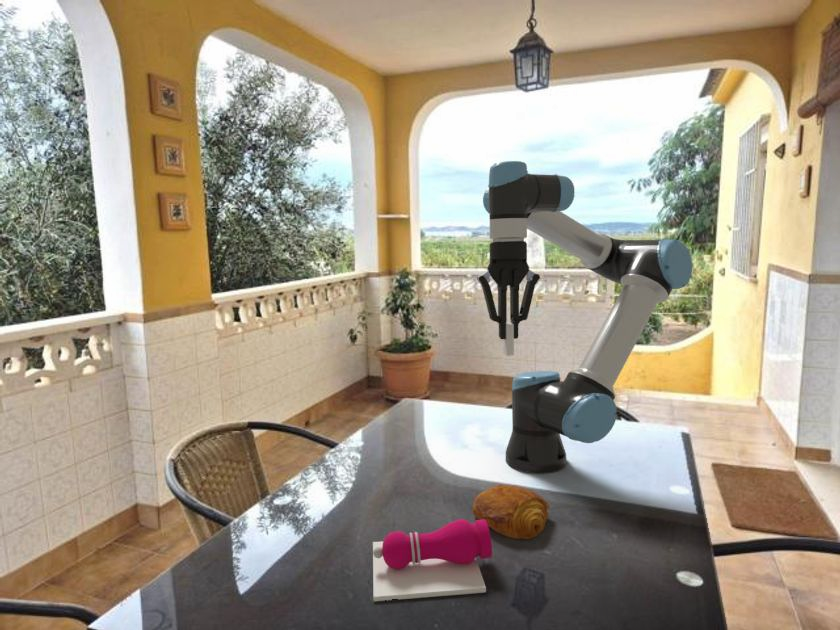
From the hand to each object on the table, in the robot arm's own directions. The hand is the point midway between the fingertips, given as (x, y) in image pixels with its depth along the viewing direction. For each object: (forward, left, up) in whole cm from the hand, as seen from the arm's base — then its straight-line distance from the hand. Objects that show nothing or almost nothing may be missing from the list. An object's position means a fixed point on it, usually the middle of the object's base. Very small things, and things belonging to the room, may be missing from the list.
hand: (508, 354), depth 114 cm
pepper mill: (+9, +22, -28) cm, 37 cm away
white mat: (+20, +22, -32) cm, 44 cm away
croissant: (+2, +9, -33) cm, 34 cm away
